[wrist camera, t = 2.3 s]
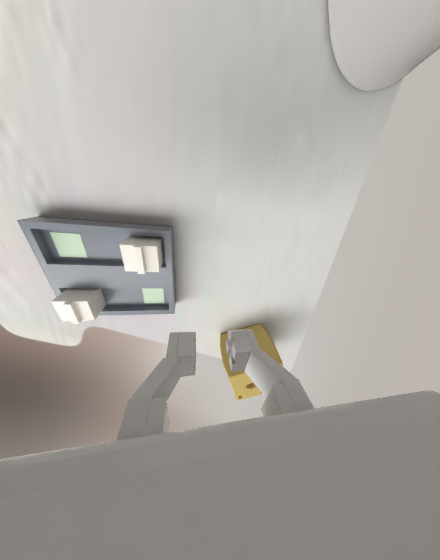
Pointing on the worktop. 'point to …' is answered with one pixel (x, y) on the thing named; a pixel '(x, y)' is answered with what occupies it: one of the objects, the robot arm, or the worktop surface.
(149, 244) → the tab near
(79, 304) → the tab far
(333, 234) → the worktop surface
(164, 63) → the worktop surface
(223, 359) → the cheese
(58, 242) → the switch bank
